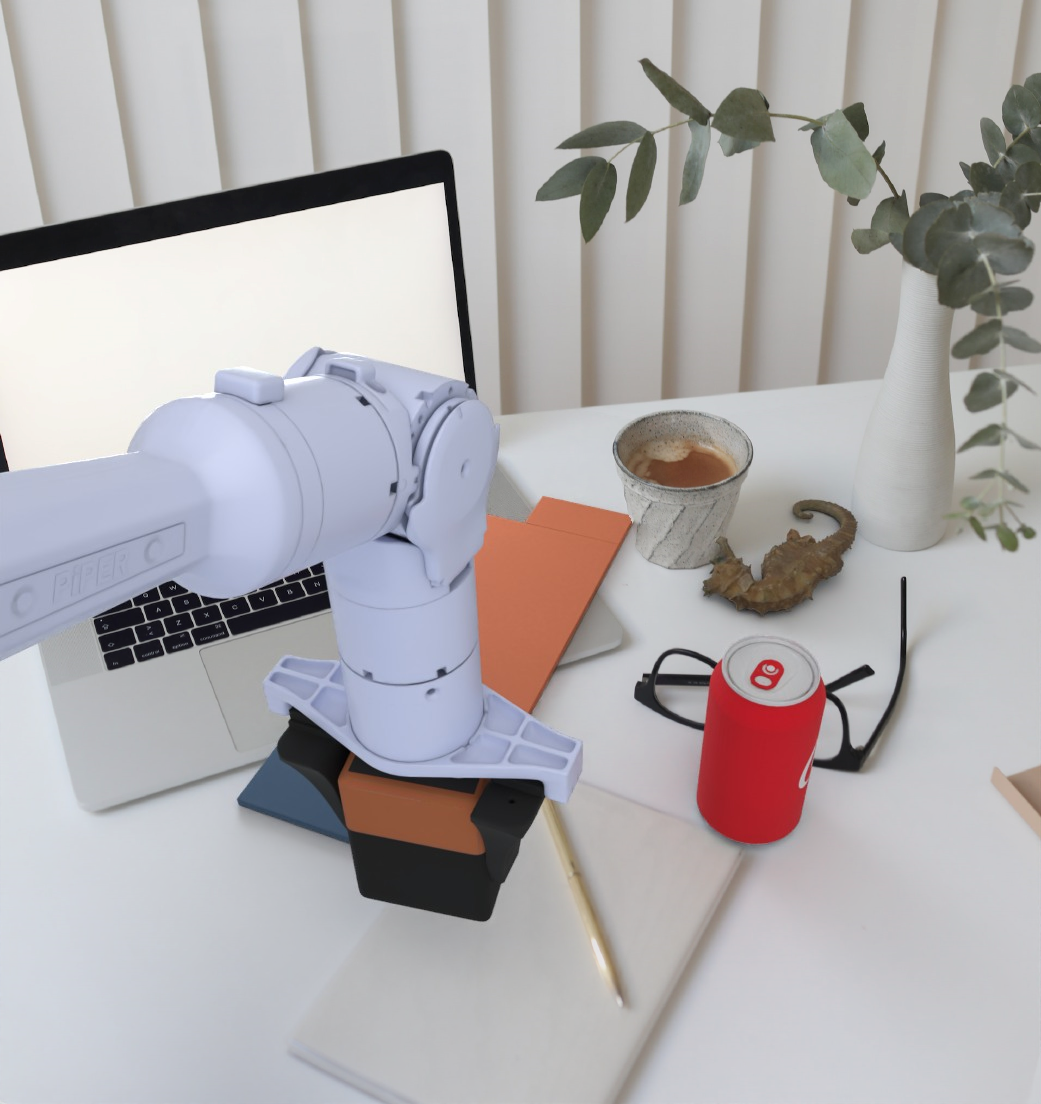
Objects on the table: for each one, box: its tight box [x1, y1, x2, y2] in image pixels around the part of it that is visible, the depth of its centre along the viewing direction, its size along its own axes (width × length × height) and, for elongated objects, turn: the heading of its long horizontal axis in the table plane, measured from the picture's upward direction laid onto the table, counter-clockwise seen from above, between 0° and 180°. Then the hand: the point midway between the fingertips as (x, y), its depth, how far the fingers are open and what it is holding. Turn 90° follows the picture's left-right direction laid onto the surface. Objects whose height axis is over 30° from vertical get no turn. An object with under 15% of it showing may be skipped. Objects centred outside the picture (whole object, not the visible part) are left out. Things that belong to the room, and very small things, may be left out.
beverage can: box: [696, 634, 827, 845], centre depth 61 cm, size 6×6×12 cm
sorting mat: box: [236, 495, 633, 844], centre depth 76 cm, size 36×14×1 cm, turn 158°
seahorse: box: [702, 499, 859, 618], centre depth 81 cm, size 9×16×3 cm, turn 126°
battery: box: [338, 751, 502, 923], centre depth 51 cm, size 4×7×10 cm, turn 76°
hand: (432, 841), depth 52 cm, fingers closed on battery, 7 cm apart
